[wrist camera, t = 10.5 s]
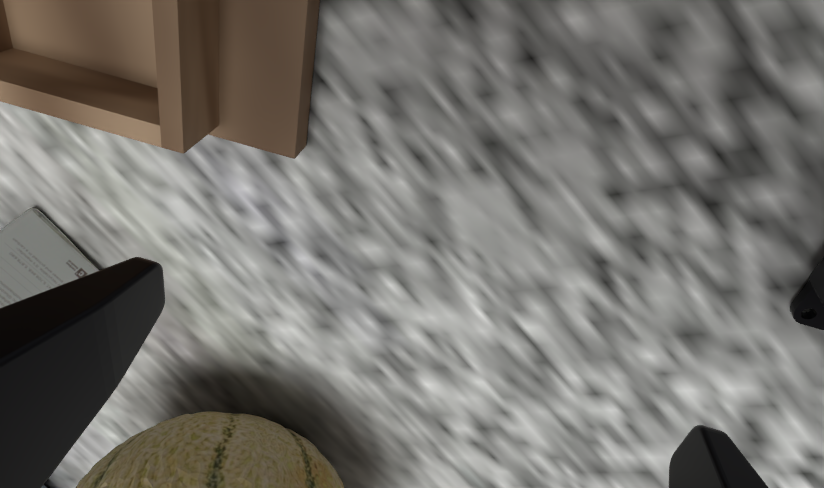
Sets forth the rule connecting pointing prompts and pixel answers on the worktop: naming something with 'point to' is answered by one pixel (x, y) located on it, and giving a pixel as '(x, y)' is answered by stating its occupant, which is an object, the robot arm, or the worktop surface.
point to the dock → (165, 67)
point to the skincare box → (36, 258)
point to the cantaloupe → (214, 456)
